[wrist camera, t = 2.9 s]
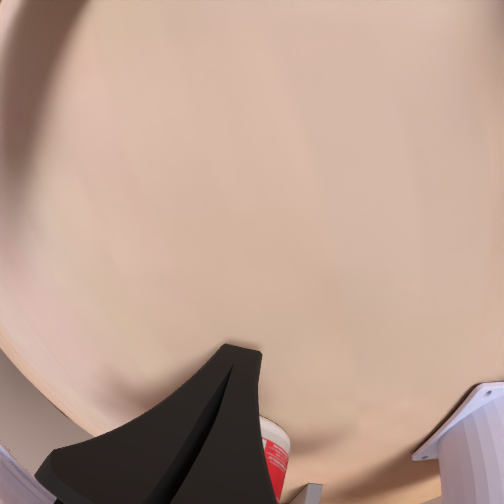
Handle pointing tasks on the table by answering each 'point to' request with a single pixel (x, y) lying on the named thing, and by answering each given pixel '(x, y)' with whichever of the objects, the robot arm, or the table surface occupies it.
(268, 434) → the pill bottle
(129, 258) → the table surface
